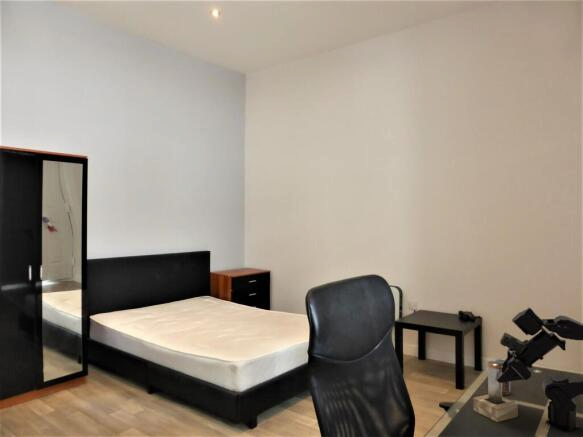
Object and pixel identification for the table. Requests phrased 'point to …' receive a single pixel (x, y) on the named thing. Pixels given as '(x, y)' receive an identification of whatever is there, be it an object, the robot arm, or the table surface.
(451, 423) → the table surface
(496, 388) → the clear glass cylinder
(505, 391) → the supplement bottle
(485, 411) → the mount
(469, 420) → the table surface
